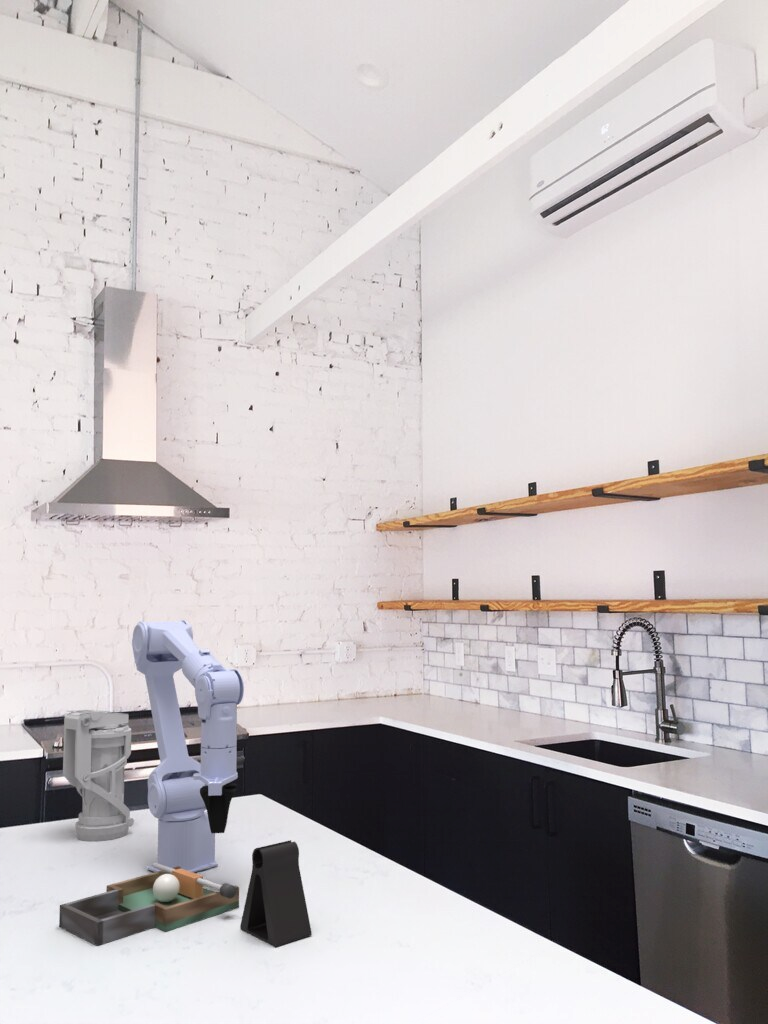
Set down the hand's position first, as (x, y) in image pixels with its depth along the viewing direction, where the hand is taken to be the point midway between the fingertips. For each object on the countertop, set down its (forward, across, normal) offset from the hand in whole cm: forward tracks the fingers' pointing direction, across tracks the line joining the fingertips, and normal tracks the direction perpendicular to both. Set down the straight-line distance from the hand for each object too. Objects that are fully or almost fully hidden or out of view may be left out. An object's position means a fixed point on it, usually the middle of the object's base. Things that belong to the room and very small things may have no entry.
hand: (218, 832), depth 141 cm
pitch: (+9, +9, -10) cm, 16 cm away
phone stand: (+10, +18, +9) cm, 23 cm away
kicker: (+8, +5, -4) cm, 10 cm away
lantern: (+10, -38, -27) cm, 47 cm away
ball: (+6, +6, -7) cm, 12 cm away
